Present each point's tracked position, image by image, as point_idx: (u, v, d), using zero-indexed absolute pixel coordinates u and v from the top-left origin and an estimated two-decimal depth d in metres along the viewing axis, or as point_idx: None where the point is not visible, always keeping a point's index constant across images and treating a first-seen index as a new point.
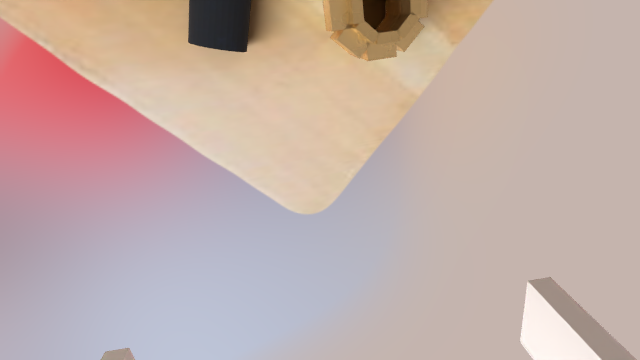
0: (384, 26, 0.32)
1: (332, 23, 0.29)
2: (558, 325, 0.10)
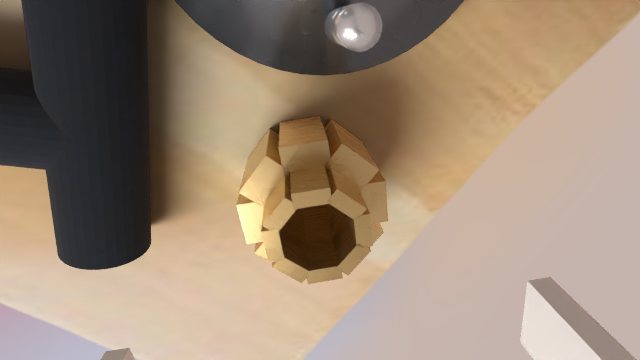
0: (330, 212, 0.22)
1: (245, 235, 0.20)
2: (558, 325, 0.10)
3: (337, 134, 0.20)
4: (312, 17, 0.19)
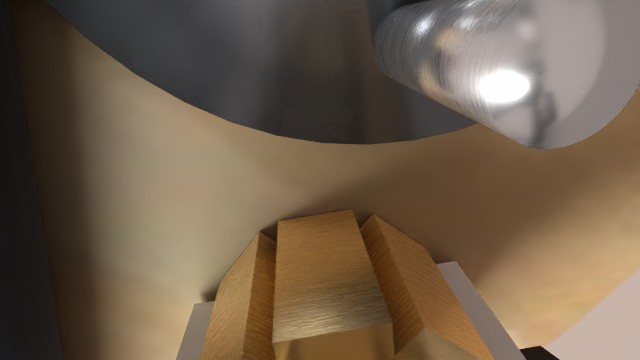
0: None
1: None
2: None
3: (400, 276, 0.09)
4: (348, 26, 0.09)
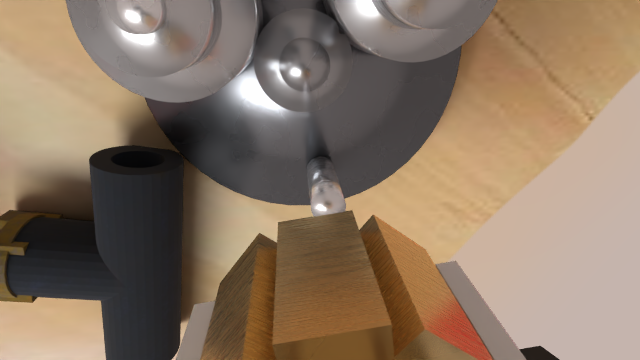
0: None
1: None
2: None
3: (400, 278, 0.09)
4: (296, 164, 0.23)
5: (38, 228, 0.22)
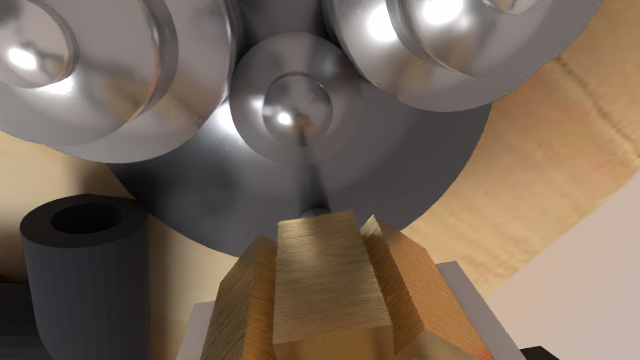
0: None
1: None
2: None
3: (400, 277, 0.09)
4: (287, 217, 0.19)
5: None
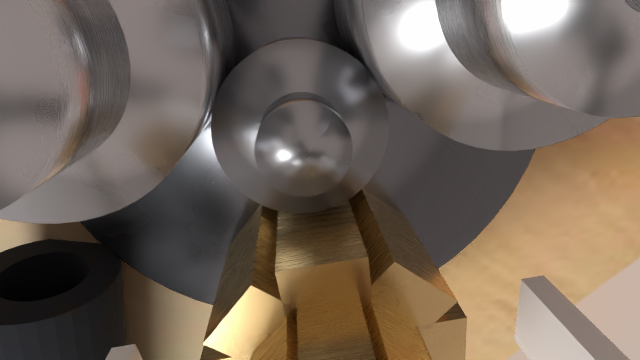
0: None
1: None
2: (550, 322, 0.10)
3: (378, 229, 0.11)
4: None
5: None
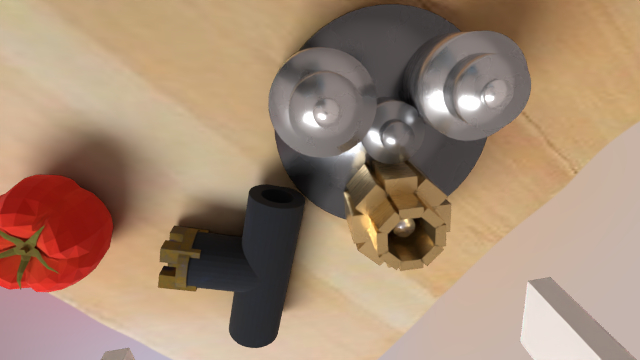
0: None
1: (354, 237, 0.29)
2: (558, 325, 0.10)
3: (418, 171, 0.29)
4: None
5: (204, 240, 0.32)
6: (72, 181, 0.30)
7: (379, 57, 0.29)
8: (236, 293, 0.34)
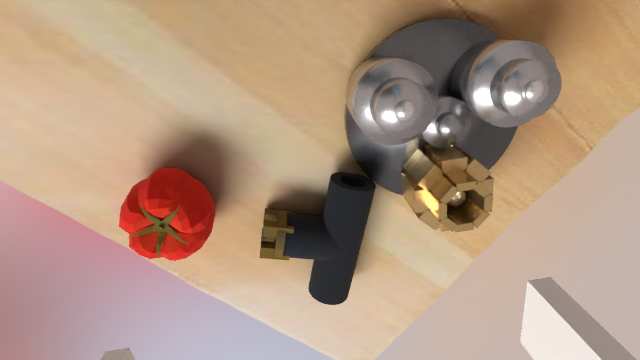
0: None
1: (416, 207, 0.36)
2: (558, 325, 0.10)
3: (466, 153, 0.36)
4: None
5: (294, 218, 0.39)
6: (185, 172, 0.37)
7: (432, 61, 0.36)
8: (318, 261, 0.41)
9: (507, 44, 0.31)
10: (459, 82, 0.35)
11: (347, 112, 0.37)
